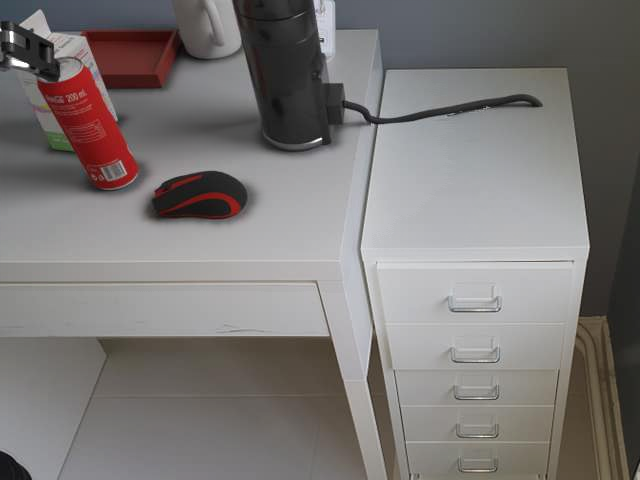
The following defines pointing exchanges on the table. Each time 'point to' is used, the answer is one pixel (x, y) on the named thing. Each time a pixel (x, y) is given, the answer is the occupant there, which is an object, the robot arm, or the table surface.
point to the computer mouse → (200, 196)
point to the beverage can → (89, 125)
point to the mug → (208, 27)
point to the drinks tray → (133, 56)
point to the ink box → (62, 48)
